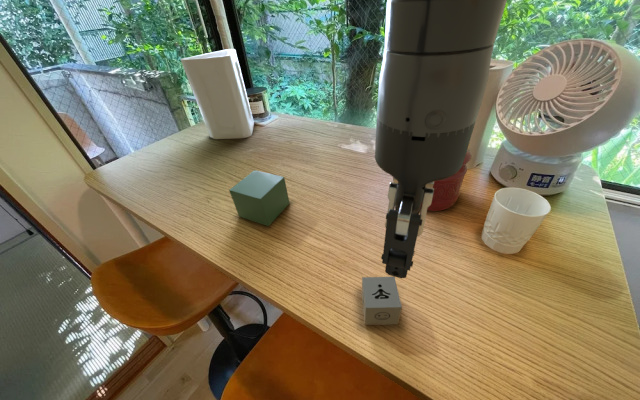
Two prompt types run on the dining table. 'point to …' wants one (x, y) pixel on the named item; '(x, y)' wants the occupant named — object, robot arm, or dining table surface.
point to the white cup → (513, 219)
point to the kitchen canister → (449, 188)
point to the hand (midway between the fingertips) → (401, 245)
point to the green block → (260, 197)
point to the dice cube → (380, 300)
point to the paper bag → (220, 93)
